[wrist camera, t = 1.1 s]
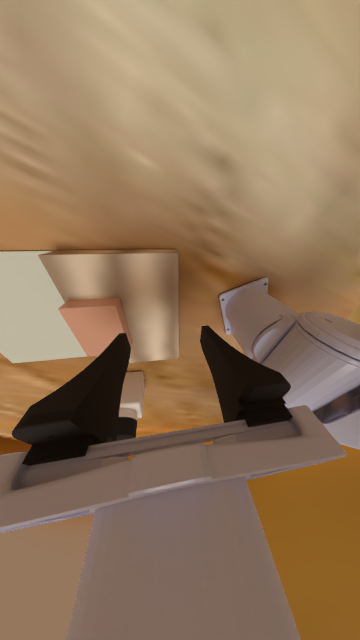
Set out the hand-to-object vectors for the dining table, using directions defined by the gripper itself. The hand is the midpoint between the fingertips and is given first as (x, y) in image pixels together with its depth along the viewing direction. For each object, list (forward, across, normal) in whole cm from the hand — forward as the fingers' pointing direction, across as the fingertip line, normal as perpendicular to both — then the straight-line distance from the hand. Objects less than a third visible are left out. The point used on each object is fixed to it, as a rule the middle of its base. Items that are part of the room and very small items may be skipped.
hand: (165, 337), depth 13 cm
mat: (+10, +20, +2) cm, 22 cm away
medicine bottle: (+10, +10, +22) cm, 26 cm away
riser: (+10, +5, +3) cm, 11 cm away
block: (+6, +8, +2) cm, 11 cm away
